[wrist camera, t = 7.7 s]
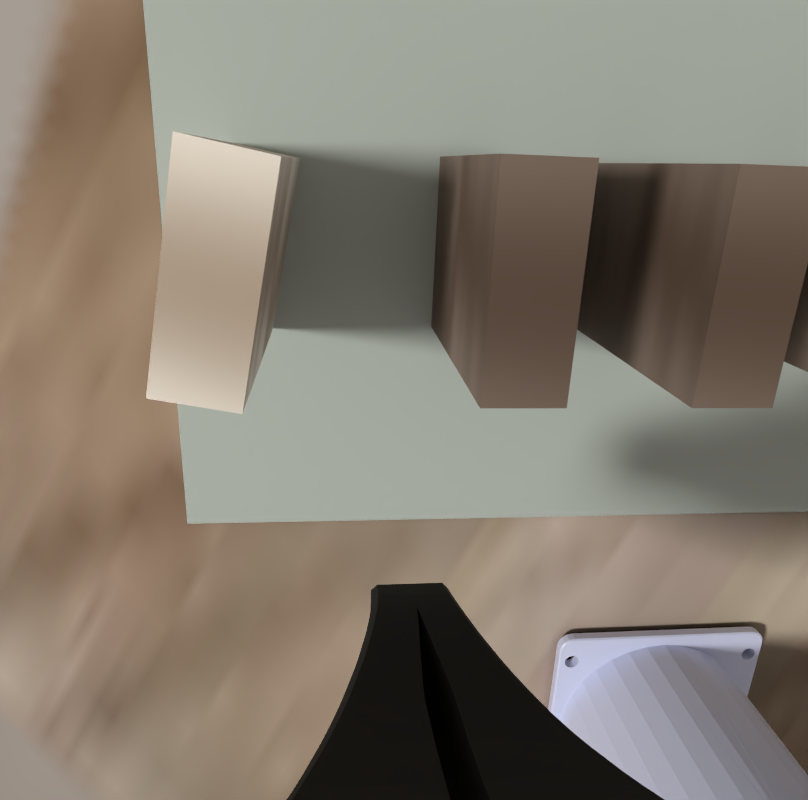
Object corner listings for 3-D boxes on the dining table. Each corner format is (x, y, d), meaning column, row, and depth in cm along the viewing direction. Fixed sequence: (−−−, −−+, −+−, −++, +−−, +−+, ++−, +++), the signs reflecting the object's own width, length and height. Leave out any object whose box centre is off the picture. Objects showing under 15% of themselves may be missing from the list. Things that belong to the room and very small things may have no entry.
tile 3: (631, 329, 20) (772, 408, 14) (575, 328, 20) (692, 408, 14) (657, 165, 19) (831, 167, 12) (596, 162, 19) (740, 163, 12)
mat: (912, 505, 24) (919, 509, 24) (189, 519, 21) (187, 523, 21) (1080, 12, 19) (1091, 10, 19) (141, -58, 16) (137, -61, 16)
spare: (272, 328, 19) (242, 413, 13) (210, 316, 19) (146, 398, 12) (300, 158, 18) (281, 156, 11) (232, 142, 17) (172, 131, 11)
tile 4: (489, 326, 20) (566, 408, 13) (431, 326, 20) (480, 408, 13) (503, 159, 18) (599, 157, 12) (440, 156, 18) (500, 153, 12)
